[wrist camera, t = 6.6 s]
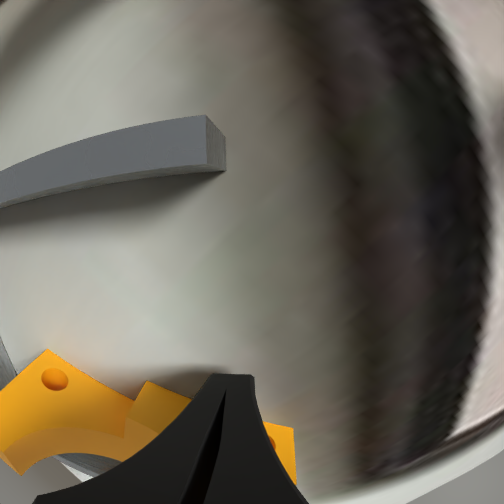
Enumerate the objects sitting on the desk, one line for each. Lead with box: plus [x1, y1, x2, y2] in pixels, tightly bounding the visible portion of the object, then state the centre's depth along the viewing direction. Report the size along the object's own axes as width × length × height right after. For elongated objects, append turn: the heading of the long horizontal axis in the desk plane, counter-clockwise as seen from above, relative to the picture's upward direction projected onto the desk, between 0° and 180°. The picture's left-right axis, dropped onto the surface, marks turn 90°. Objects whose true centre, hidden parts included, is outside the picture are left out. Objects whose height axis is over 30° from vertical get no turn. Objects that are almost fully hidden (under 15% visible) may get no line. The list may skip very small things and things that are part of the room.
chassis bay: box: [0, 115, 226, 477], centre depth 8 cm, size 16×16×2 cm
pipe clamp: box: [0, 349, 297, 485], centre depth 7 cm, size 12×4×6 cm, turn 69°
